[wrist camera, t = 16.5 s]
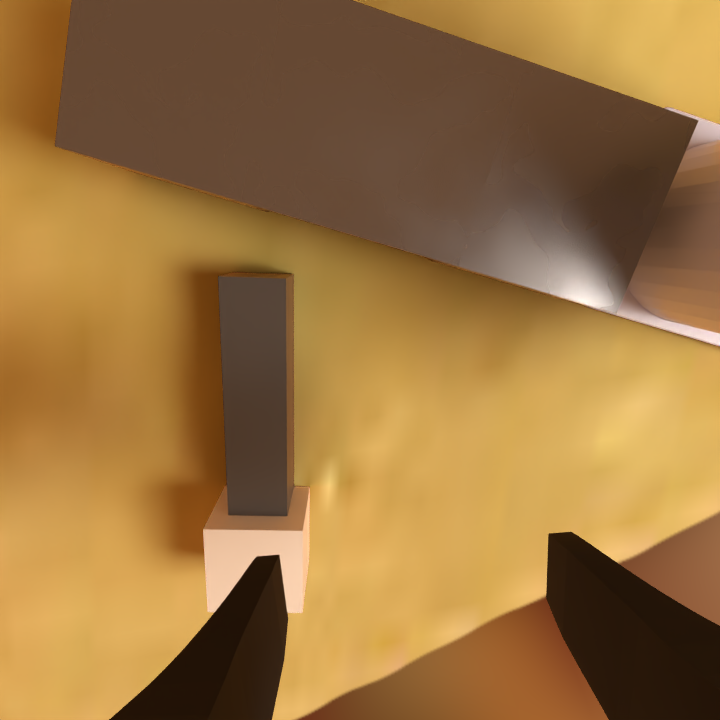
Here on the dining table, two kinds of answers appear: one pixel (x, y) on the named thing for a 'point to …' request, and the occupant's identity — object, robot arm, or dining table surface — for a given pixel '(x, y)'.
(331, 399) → the dining table surface
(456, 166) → the block
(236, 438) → the plug
